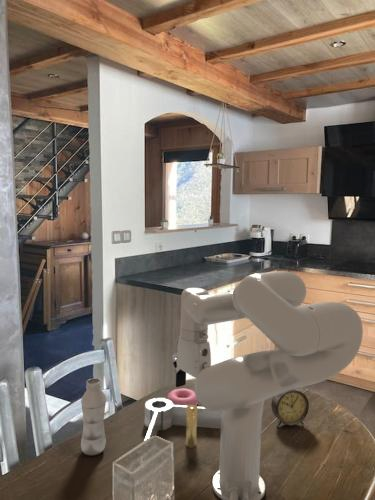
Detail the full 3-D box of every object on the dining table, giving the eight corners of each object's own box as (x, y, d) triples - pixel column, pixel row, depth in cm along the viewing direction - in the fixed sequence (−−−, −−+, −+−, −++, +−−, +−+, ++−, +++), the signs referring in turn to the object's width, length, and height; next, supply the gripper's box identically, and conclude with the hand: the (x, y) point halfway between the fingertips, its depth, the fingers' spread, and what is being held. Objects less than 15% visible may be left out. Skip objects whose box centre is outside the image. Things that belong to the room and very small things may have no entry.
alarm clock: (275, 431, 124) (278, 379, 122) (268, 421, 129) (270, 372, 127) (308, 427, 127) (311, 376, 125) (299, 418, 132) (302, 369, 130)
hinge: (221, 469, 106) (222, 447, 105) (129, 461, 108) (130, 439, 107) (223, 420, 129) (223, 402, 129) (148, 414, 132) (148, 397, 131)
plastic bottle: (76, 450, 112) (76, 380, 110) (99, 441, 116) (99, 374, 114) (87, 462, 107) (87, 388, 105) (110, 452, 111) (110, 382, 109)
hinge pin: (195, 448, 114) (196, 410, 113) (185, 447, 115) (186, 409, 114) (196, 441, 117) (197, 405, 116) (186, 441, 118) (187, 404, 116)
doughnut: (173, 394, 146) (173, 383, 146) (203, 400, 143) (203, 389, 142) (161, 409, 136) (161, 397, 136) (192, 415, 132) (193, 403, 132)
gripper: (225, 340, 108) (222, 401, 111) (184, 322, 122) (182, 377, 124) (204, 345, 104) (201, 409, 106) (164, 327, 117) (162, 384, 119)
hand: (191, 392), depth 115 cm, fingers open, 9 cm apart
